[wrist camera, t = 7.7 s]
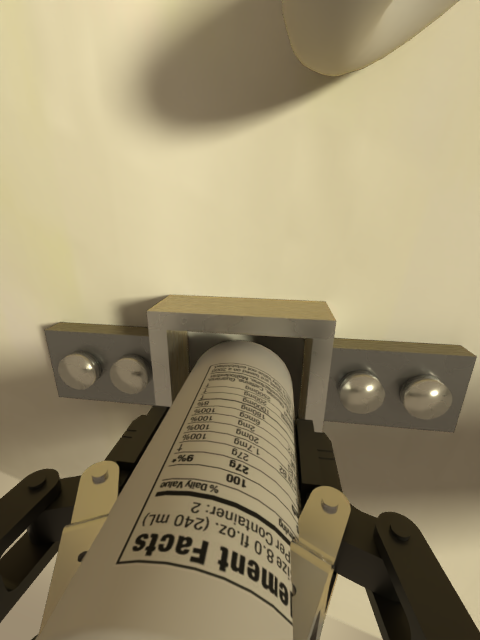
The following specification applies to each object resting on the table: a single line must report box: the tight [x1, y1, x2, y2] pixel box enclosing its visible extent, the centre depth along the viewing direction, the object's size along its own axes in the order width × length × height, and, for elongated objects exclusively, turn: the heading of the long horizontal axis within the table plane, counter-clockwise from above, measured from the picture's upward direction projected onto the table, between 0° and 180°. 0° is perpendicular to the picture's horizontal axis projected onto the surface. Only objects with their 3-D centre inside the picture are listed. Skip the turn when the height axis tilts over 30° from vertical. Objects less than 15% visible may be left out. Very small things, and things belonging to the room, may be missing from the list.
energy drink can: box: [35, 340, 311, 640], centre depth 11 cm, size 6×6×15 cm
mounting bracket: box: [44, 295, 477, 433], centre depth 18 cm, size 26×10×4 cm, turn 89°
